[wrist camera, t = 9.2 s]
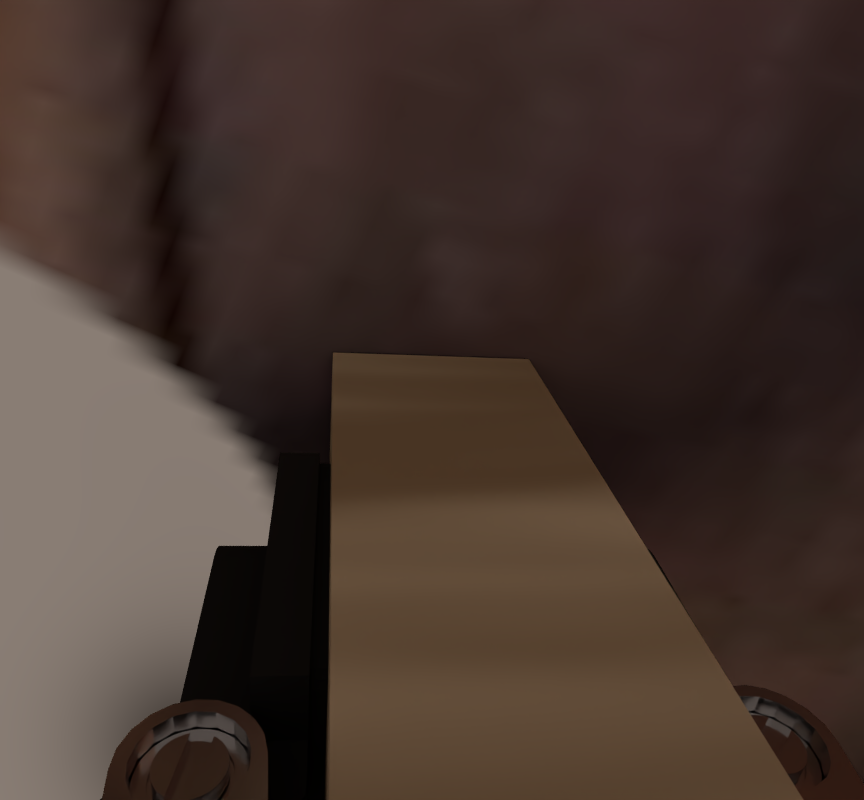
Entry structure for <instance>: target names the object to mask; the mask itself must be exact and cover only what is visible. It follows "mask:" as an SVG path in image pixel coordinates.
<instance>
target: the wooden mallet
mask: <svg viewBox="0 0 864 800" xmlns="http://www.w3.org/2000/svg"><path fill="white" fill-rule="evenodd" d="M330 464H331V488H330V572H329V655H328V698H327V728H326V758H325V788H324V800H803V798H802V797H801V795H800V793H799V792H798V790H797V789H796V787H795V785H794V784H793V782H792V781H791V779H790V777H789V776H788V774H787V773H786V771H785V769H784V768H783V766H782V765H781V763H780V761H779V760H778V758H777V757H776V755H775V753H774V752H773V750H772V749H771V747H770V745H769V744H768V742H767V740H766V739H765V737H764V736H763V734H762V732H761V731H760V729H759V728H758V726H757V724H756V723H755V721H754V720H753V718H752V716H751V715H750V713H749V712H748V710H747V708H746V707H745V705H744V704H743V702H742V700H741V699H740V697H739V696H738V694H737V692H736V691H735V689H734V688H733V686H732V684H731V683H730V681H729V679H728V678H727V676H726V675H725V673H724V671H723V670H722V668H721V667H720V665H719V663H718V662H717V660H716V659H715V657H714V655H713V654H712V652H711V651H710V649H709V647H708V646H707V644H706V643H705V641H704V639H703V638H702V636H701V635H700V633H699V631H698V630H697V628H696V627H695V625H694V623H693V622H692V620H691V619H690V617H689V615H688V614H687V612H686V610H685V609H684V607H683V606H682V604H681V602H680V601H679V599H678V598H677V596H676V594H675V593H674V591H673V590H672V588H671V586H670V585H669V583H668V582H667V580H666V578H665V577H664V575H663V574H662V572H661V570H660V569H659V567H658V566H657V564H656V562H655V561H654V559H653V558H652V556H651V554H650V553H649V551H648V550H647V548H646V546H645V545H644V543H643V541H642V540H641V538H640V537H639V535H638V533H637V532H636V530H635V529H634V527H633V525H632V524H631V522H630V521H629V519H628V517H627V516H626V514H625V513H624V511H623V509H622V508H621V506H620V505H619V503H618V501H617V500H616V498H615V497H614V495H613V493H612V492H611V490H610V489H609V487H608V485H607V484H606V482H605V480H604V479H603V477H602V476H601V474H600V472H599V471H598V469H597V468H596V466H595V464H594V463H593V461H592V460H591V458H590V456H589V455H588V453H587V452H586V450H585V448H584V447H583V445H582V444H581V442H580V440H579V439H578V437H577V436H576V434H575V432H574V431H573V429H572V428H571V426H570V424H569V423H568V421H567V420H566V418H565V416H564V415H563V413H562V411H561V410H560V408H559V407H558V405H557V403H556V402H555V400H554V399H553V397H552V395H551V394H550V392H549V391H548V389H547V387H546V386H545V384H544V383H543V381H542V379H541V378H540V376H539V375H538V373H537V371H536V370H535V368H534V367H533V365H532V363H531V362H530V360H529V359H508V358H479V357H450V356H421V355H391V354H362V353H333V366H332V401H331V435H330Z"/></svg>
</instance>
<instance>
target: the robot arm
mask: <svg viewBox="0 0 864 800" xmlns="http://www.w3.org/2000/svg"><path fill="white" fill-rule="evenodd" d="M319 459H320V453H280V458H279V465H278V473H277V480H276V487H275V495H274V502H273V509H272V516H271V524H270V531H269V538H268V545H267V546H219V547H218V548H217V550H216V553H215V556H214V560H213V565H212V569H211V573H210V577H209V581H208V586H207V590H206V594H205V599H204V603H203V607H202V611H201V616H200V620H199V624H198V629H197V633H196V637H195V641H194V645H193V650H192V654H191V659H190V662H189V667H188V671H187V675H186V679H185V684H184V688H183V693H182V697H181V701H180V703H177V704H173V705H170V706H168V707H166V708H164V709H161V710H159V711H157V712H155V713H153V714H151V715H149V716H148V717H147V718H145V719H144V720H143V721H142V722H140V723H139V724H138V725H136V726H135V727H134V728H133V729H131V730H130V732H129V733H128V735H126V737H125V738H124V739H123V740H122V742H121V743H120V744H119V746H118V747H117V748H116V750H115V753H114V756H113V758H112V761H111V763H110V766H109V768H108V772H107V777H106V782H105V786H104V791H103V796H102V799H100V800H324V788H325V758H326V728H327V698H328V655H329V572H330V488H331V464H320V463H319ZM647 550H648V551H649V553H650V554H651V556H652V558H653V559H654V561H655V562H656V564H657V566H658V567H659V569H660V570H661V572H662V574H663V575H664V577H665V578H666V580H667V582H668V583H669V585H670V586H671V584H670V582H669V580H668V579H667V577H666V575H665V574H664V572H663V570H662V568H661V567H660V565H659V563H658V562H657V560H656V558H655V557H654V555H653V554H652V553H651V552H650V550H649V549H647ZM671 588H672V590H673V591H674V589H673V587H672V586H671ZM674 593H675V594H676V592H675V591H674ZM676 596H677V594H676ZM677 598H678V599H679V597H678V596H677ZM679 601H680V599H679ZM680 602H681V601H680ZM681 604H682V603H681ZM682 606H683V604H682ZM683 607H684V606H683ZM684 609H685V608H684ZM685 610H686V609H685ZM686 612H687V611H686ZM687 614H688V613H687ZM688 615H689V614H688ZM689 617H690V616H689ZM690 619H691V618H690ZM692 622H693V621H692ZM695 627H696V626H695ZM733 688H734V689H735V691H736V692H737V694H738V696H739V697H740V699H741V700H742V702H743V704H744V705H745V707H746V708H747V710H748V712H749V713H750V715H751V716H752V718H753V720H754V721H755V723H756V724H757V726H758V728H759V729H760V731H761V732H762V734H763V736H764V737H765V739H766V740H767V742H768V744H769V745H770V747H771V749H772V750H773V752H774V753H775V755H776V757H777V758H778V760H779V761H780V763H781V765H782V766H783V768H784V769H785V771H786V773H787V774H788V776H789V777H790V779H791V781H792V782H793V784H794V785H795V787H796V789H797V790H798V792H799V793H800V795H801V797H802V798H803V800H864V784H863V782H862V781H861V779H860V777H859V776H858V774H857V772H856V771H855V769H854V767H853V766H852V764H851V762H850V761H849V759H848V757H847V756H846V754H845V752H844V751H843V749H842V747H841V746H840V744H839V742H838V741H837V740H836V738H835V737H834V736H833V734H832V733H831V732H830V731H829V729H828V728H827V727H826V725H825V724H824V723H823V722H821V721H820V720H819V719H818V718H817V717H816V716H815V715H813V714H812V713H811V712H810V711H809V710H808V709H806V708H805V707H803V706H801V705H800V704H798V703H796V702H795V701H793V700H791V699H790V698H788V697H786V696H784V695H781V694H778V693H776V692H773V691H770V690H768V689H765V688H759V687H753V686H747V685H741V686H733Z"/></svg>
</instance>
